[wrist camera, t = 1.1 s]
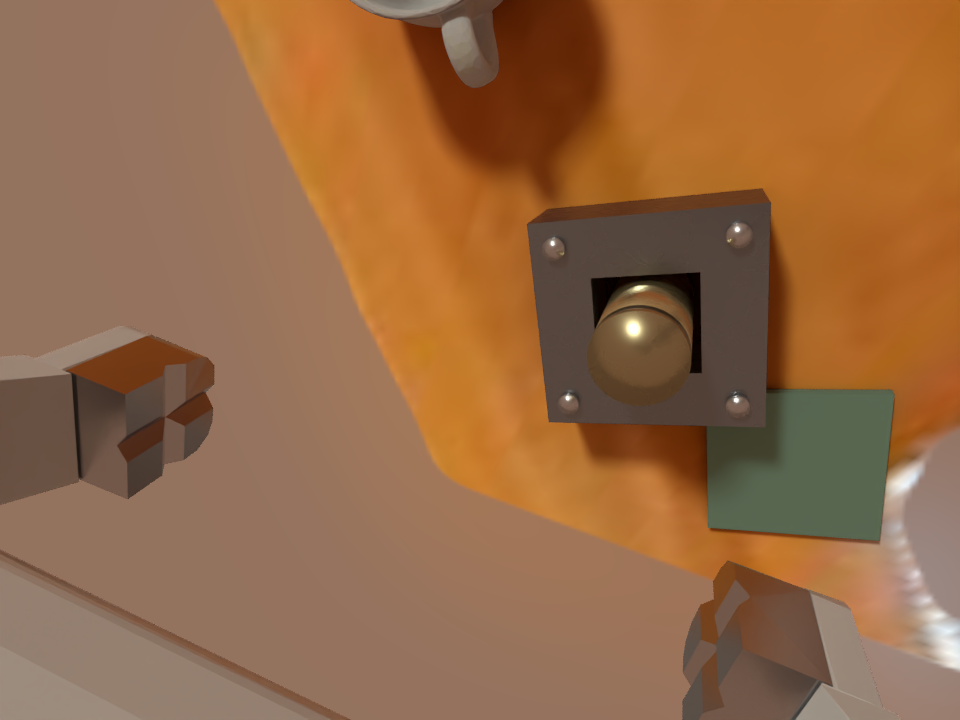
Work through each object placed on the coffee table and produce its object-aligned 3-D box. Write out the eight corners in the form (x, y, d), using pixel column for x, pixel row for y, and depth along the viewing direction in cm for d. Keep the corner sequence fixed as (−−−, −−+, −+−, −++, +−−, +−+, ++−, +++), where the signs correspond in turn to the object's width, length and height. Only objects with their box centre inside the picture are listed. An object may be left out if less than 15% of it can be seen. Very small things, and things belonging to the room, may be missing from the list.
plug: (693, 257, 36) (690, 309, 28) (695, 335, 38) (692, 406, 29) (610, 263, 38) (582, 313, 29) (615, 336, 40) (590, 405, 31)
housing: (762, 188, 34) (771, 204, 29) (758, 389, 38) (766, 431, 33) (547, 209, 38) (524, 225, 33) (565, 388, 42) (547, 426, 37)
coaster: (891, 389, 36) (894, 394, 35) (877, 534, 39) (879, 540, 39) (706, 388, 39) (706, 392, 39) (707, 522, 43) (707, 527, 42)
